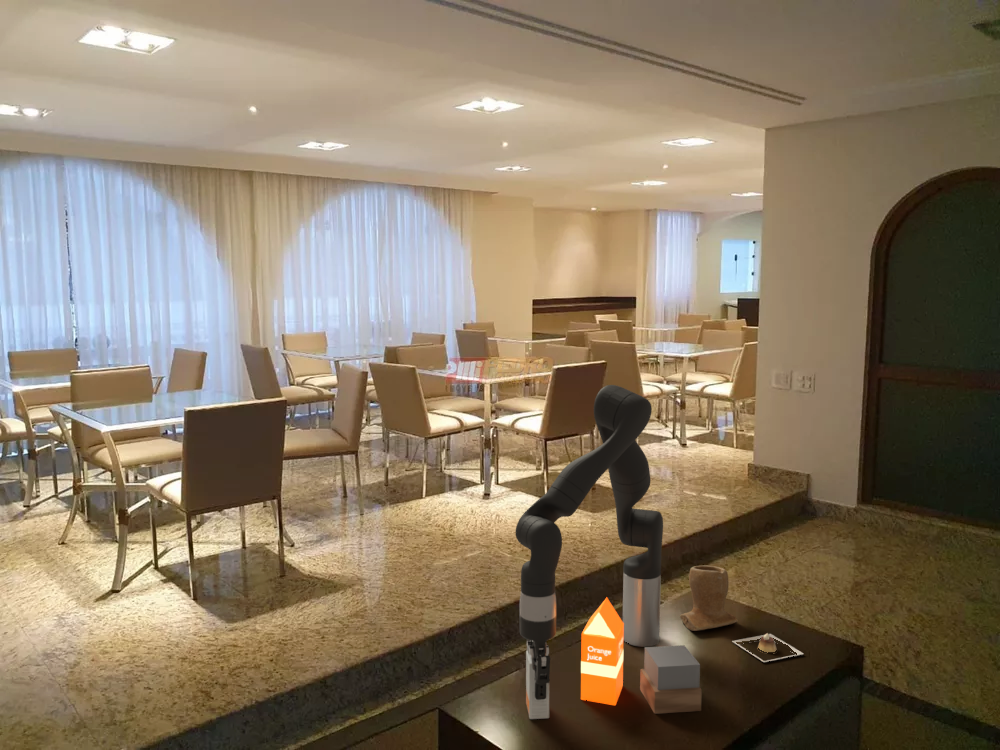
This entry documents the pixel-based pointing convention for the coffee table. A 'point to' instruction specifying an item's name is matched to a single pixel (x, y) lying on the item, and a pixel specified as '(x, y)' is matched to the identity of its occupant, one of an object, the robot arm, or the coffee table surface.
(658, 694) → the walnut base block
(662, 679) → the gray top block
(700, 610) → the stone cup
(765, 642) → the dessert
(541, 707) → the skincare box
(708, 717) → the coffee table surface
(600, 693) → the orange juice
